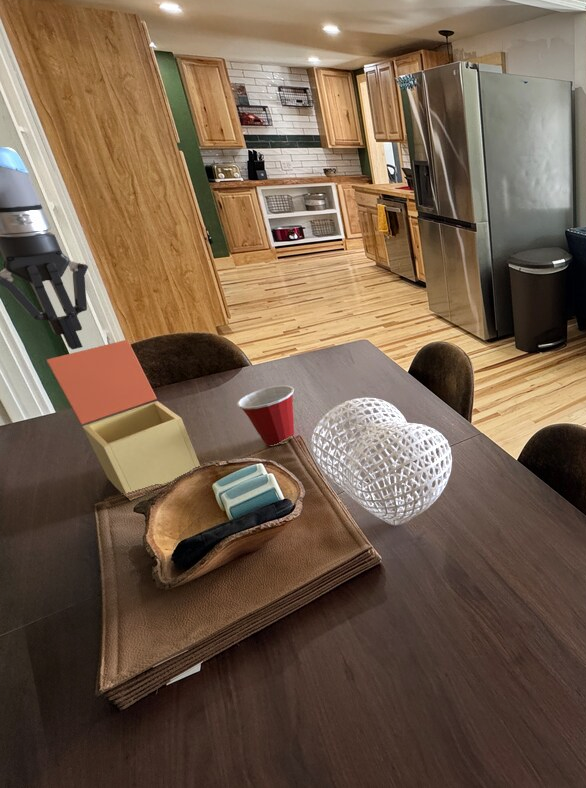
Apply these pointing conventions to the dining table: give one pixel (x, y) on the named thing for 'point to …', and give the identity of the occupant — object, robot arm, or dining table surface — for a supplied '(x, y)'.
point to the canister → (142, 447)
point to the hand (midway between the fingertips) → (75, 346)
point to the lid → (102, 380)
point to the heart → (382, 459)
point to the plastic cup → (270, 412)
